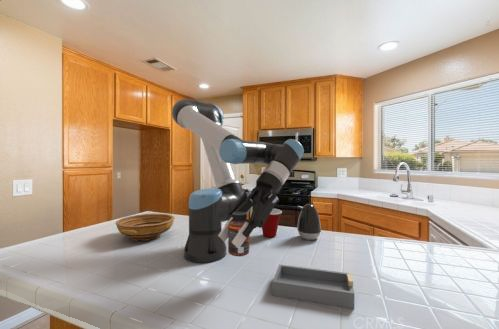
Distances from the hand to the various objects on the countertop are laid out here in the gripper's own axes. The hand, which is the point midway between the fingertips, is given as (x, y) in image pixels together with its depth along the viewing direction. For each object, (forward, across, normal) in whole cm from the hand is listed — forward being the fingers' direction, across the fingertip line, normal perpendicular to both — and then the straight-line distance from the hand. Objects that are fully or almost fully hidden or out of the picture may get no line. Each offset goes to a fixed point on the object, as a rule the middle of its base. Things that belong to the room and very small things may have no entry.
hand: (228, 241), depth 65 cm
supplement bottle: (0, 0, -6) cm, 6 cm away
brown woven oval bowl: (+13, +58, -6) cm, 60 cm away
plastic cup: (-19, +24, -37) cm, 48 cm away
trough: (-3, -16, -19) cm, 25 cm away
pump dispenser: (-27, +11, -44) cm, 53 cm away
